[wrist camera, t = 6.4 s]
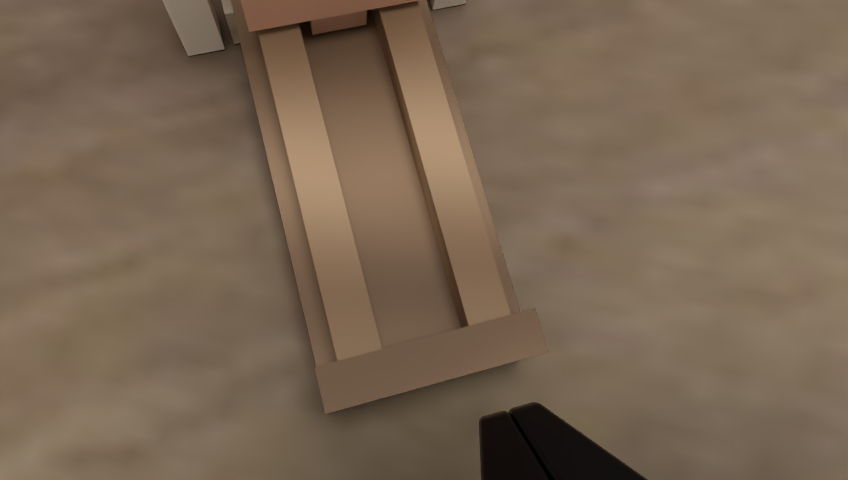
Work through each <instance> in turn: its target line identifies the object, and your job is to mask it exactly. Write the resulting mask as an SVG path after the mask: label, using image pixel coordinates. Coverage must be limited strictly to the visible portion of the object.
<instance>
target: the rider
mask: <svg viewBox="0 0 848 480" xmlns="http://www.w3.org/2000/svg"><path fill="white" fill-rule="evenodd" d="M414 1H419V0H241V4H242V8H243V11H244V15H245V18H246V22H247V26H248V29H249V32H253V31H258V30H263V29H269V28H274V27H279V26H285V25H290V24H296V23H301V22H306V21H309V23H310V27H311V31H312V35H314V34H320V33H325V32H330V31H335V30H341V29H346V28H351V27H357V26H362V25H366V18H367V10H371V9H376V8H382V7H387V6H392V5H398V4H403V3H408V2H414Z"/></svg>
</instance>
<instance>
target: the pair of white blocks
mask: <svg viewBox="0 0 848 480" xmlns="http://www.w3.org/2000/svg"><path fill="white" fill-rule="evenodd" d="M162 1H163V3H164V5H165V8H166V10H167V12H168V14H169V16H170V18H171V20H172V23H173V25H174V27H175V29H176V31H177V33H178V35H179V37H180V40H181V42H182V44H183V46H184V48H185V50H186V52H187V55H188V56H191V55H197V54H202V53H207V52H213V51H218V50H223V49H225V48H224V43H223V39H222V35H221V30H220V26H219V21H218V17H217V14H216V11H215V9H214V6H213V3H212V0H162ZM430 3H431V6H432V9H433V10H435V9H440V8H446V7H451V6H456V5H461V4H466V0H430Z"/></svg>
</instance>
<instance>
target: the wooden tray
mask: <svg viewBox="0 0 848 480" xmlns="http://www.w3.org/2000/svg"><path fill="white" fill-rule="evenodd" d="M221 1H222V5H223V10H224V14H225V17H226V20H227V23H228V26H229V29H230V32H231V36H232V39H233V42H234V44H237V43H240V44H241V48H242V52H243V57H244V61H245V65H246V69H247V74H248V78H249V82H250V86H251V91H252V95H253V99H254V103H255V108H256V112H257V116H258V120H259V125H260V129H261V133H262V137H263V142H264V146H265V150H266V154H267V159H268V163H269V167H270V171H271V176H272V180H273V184H274V188H275V193H276V197H277V201H278V205H279V210H280V214H281V218H282V222H283V227H284V231H285V235H286V239H287V244H288V248H289V252H290V257H291V261H292V265H293V269H294V274H295V278H296V282H297V286H298V291H299V295H300V299H301V303H302V308H303V312H304V316H305V320H306V325H307V329H308V333H309V337H310V342H311V346H312V350H313V354H314V359H315V363H316V367H314V368H315V373H316V377H317V381H318V385H319V390H320V394H321V398H322V402H323V407H324V411H325V414H327V413H331V412H335V411H338V410H342V409H345V408H349V407H353V406H356V405H360V404H363V403H367V402H371V401H374V400H378V399H381V398H385V397H389V396H392V395H396V394H399V393H403V392H407V391H410V390H414V389H418V388H421V387H425V386H428V385H432V384H436V383H439V382H443V381H446V380H450V379H454V378H457V377H461V376H464V375H468V374H472V373H475V372H479V371H482V370H486V369H490V368H493V367H497V366H500V365H504V364H508V363H511V362H515V361H518V360H522V359H526V358H529V357H533V356H536V355H540V354H544V353H547V352H548V349H547V345H546V342H545V339H544V336H543V332H542V329H541V326H540V322H539V319H538V316H537V313H536V309H535V308H534V309H531V310H527V311H523V312H520V310H519V306H518V303H517V300H516V296H515V293H514V290H513V286H512V283H511V280H510V276H509V273H508V270H507V266H506V263H505V260H504V256H503V253H502V250H501V246H500V243H499V240H498V236H497V233H496V230H495V226H494V223H493V220H492V216H491V213H490V210H489V206H488V203H487V200H486V196H485V193H484V190H483V186H482V183H481V180H480V176H479V173H478V170H477V166H476V163H475V160H474V156H473V153H472V150H471V146H470V143H469V140H468V136H467V133H466V130H465V126H464V123H463V120H462V117H461V113H460V110H459V107H458V103H457V100H456V97H455V93H454V90H453V87H452V83H451V80H450V77H449V73H448V70H447V67H446V63H445V60H444V57H443V53H442V50H441V47H440V43H439V40H438V37H437V33H436V30H435V27H434V23H433V20H432V17H431V13H430V10H429V7H428V3H427V0H419V1H414V2H408V3H403V4H398V5H392V6H387V7H382V8H376V9H371V10H367V18H366V25H362V26H357V27H351V28H346V29H341V30H335V31H330V32H325V33H320V34H314V35H312V31H311V27H310V23H309V21H306V22H301V23H296V24H290V25H285V26H279V27H274V28H269V29H263V30H258V31H253V32H249V29H248V26H247V22H246V18H245V15H244V11H243V8H242V4H241V0H221Z"/></svg>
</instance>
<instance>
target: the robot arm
mask: <svg viewBox="0 0 848 480" xmlns="http://www.w3.org/2000/svg"><path fill="white" fill-rule="evenodd" d="M479 437H480V462H481V480H647V479H646V478H644V477H643V476H641V475H640V474H639V473H637V472H636V471H634V470H633V469H632V468H630V467H629V466H627V465H626V464H625V463H623V462H622V461H620V460H619V459H617V458H616V457H615V456H613V455H612V454H610V453H609V452H608V451H606V450H605V449H603V448H602V447H600V446H599V445H598V444H596V443H595V442H593V441H592V440H591V439H589V438H588V437H586V436H585V435H583V434H582V433H581V432H579V431H578V430H576V429H575V428H574V427H572V426H571V425H569V424H568V423H566V422H565V421H564V420H562V419H561V418H559V417H558V416H557V415H555V414H554V413H552V412H551V411H550V410H548V409H547V408H545V407H544V406H542V405H541V404H539V403H536V402H532V403H528V404H525V405H521V406H518V407H514V408H512V409H510V411H509V413H508V412H506V411H501V412H497V413H494V414H490V415H487V416H483V417H481V418H480V420H479Z"/></svg>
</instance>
